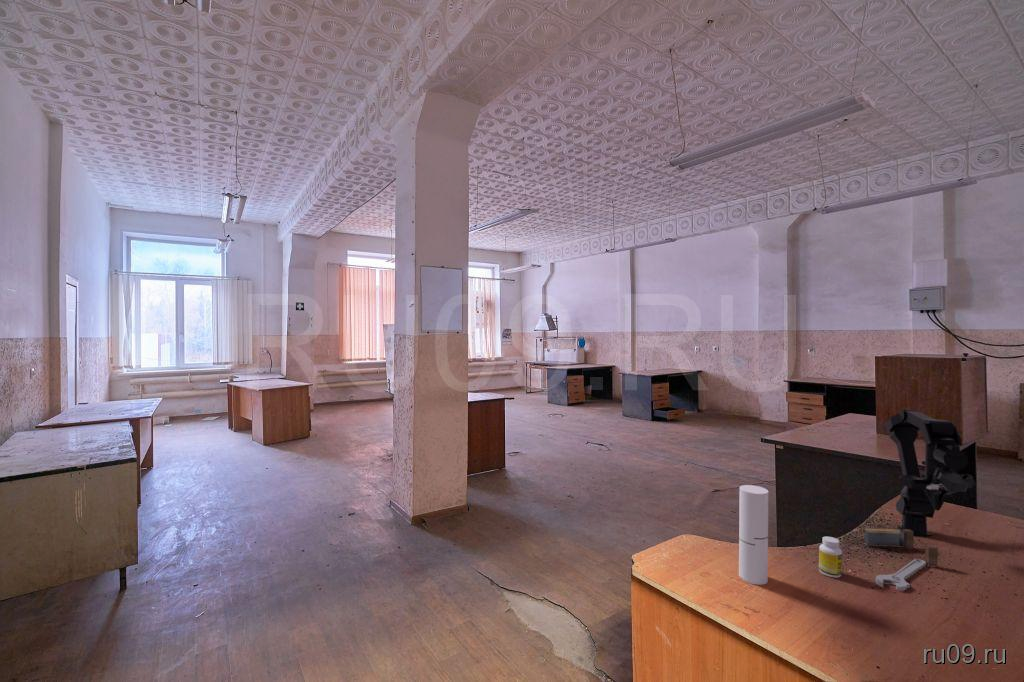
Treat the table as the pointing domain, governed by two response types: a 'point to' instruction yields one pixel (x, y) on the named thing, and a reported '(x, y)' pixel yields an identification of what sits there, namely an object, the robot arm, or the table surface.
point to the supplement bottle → (830, 557)
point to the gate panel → (884, 537)
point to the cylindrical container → (753, 534)
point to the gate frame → (930, 551)
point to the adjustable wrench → (901, 575)
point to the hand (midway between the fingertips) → (936, 510)
